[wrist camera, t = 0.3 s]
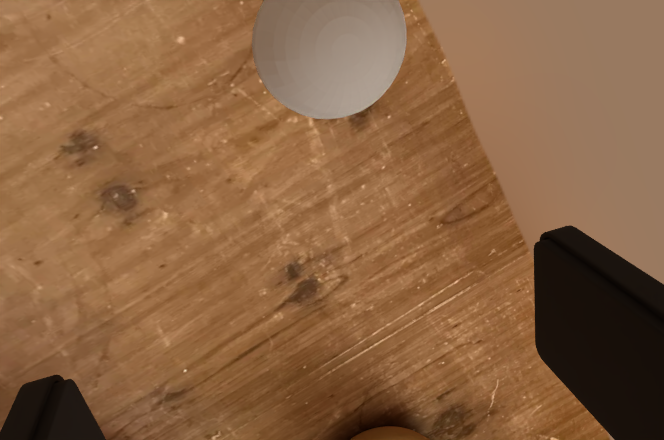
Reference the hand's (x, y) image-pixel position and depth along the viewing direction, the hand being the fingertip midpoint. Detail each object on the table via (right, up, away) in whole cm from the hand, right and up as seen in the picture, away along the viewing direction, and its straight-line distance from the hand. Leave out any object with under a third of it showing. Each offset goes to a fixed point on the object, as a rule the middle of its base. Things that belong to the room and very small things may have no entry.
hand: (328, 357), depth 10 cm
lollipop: (-3, +15, +21) cm, 26 cm away
